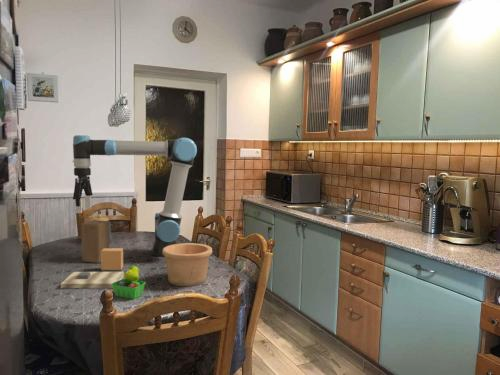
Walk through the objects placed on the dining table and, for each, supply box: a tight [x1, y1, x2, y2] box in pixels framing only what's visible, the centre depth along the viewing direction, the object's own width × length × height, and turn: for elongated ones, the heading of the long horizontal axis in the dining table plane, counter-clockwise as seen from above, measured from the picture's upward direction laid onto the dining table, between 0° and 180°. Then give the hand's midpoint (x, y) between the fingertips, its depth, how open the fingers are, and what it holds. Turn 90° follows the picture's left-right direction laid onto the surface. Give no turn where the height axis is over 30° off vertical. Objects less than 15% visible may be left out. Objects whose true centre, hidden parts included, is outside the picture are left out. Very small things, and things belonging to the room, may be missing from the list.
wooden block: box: [81, 220, 110, 264], centre depth 204 cm, size 10×10×20 cm
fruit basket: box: [112, 264, 147, 300], centre depth 158 cm, size 11×9×11 cm
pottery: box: [162, 242, 213, 287], centre depth 178 cm, size 22×22×14 cm
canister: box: [88, 213, 112, 244], centre depth 242 cm, size 13×13×18 cm
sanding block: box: [100, 247, 124, 272], centre depth 189 cm, size 9×5×10 cm, turn 96°
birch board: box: [60, 271, 125, 289], centre depth 173 cm, size 22×16×2 cm
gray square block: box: [78, 271, 91, 279], centre depth 172 cm, size 4×4×2 cm
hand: (83, 210), depth 195 cm, fingers open, 13 cm apart
